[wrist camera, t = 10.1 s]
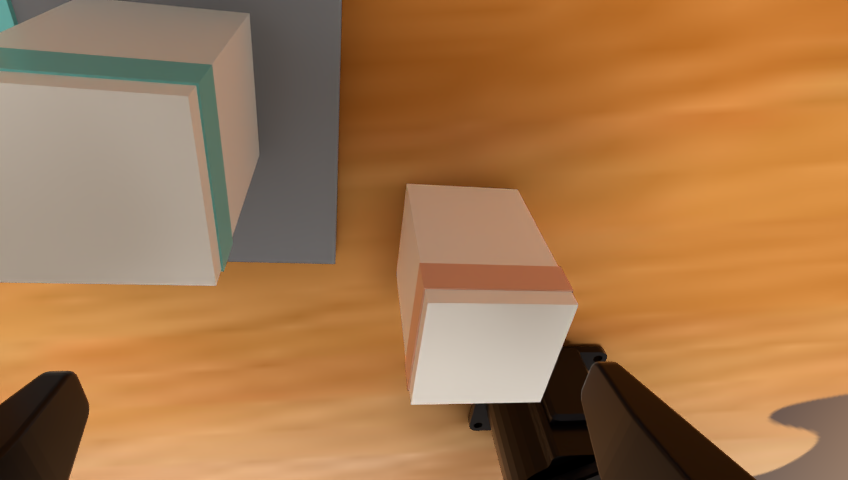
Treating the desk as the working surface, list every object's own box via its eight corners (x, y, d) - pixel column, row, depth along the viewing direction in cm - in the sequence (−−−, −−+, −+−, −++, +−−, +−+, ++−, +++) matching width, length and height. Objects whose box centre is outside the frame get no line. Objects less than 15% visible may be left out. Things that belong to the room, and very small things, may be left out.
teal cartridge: (261, 155, 18) (218, 287, 12) (115, 147, 17) (-4, 284, 11) (251, 11, 15) (190, 93, 9) (77, -6, 14) (-102, 72, 9)
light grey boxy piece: (496, 276, 24) (541, 403, 18) (394, 274, 23) (409, 405, 17) (518, 188, 21) (580, 303, 15) (405, 182, 20) (426, 301, 15)
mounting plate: (335, 249, 22) (335, 266, 21) (77, 242, 20) (63, 261, 19) (345, -170, 14) (345, -173, 13) (-80, -237, 12) (-117, -246, 11)
